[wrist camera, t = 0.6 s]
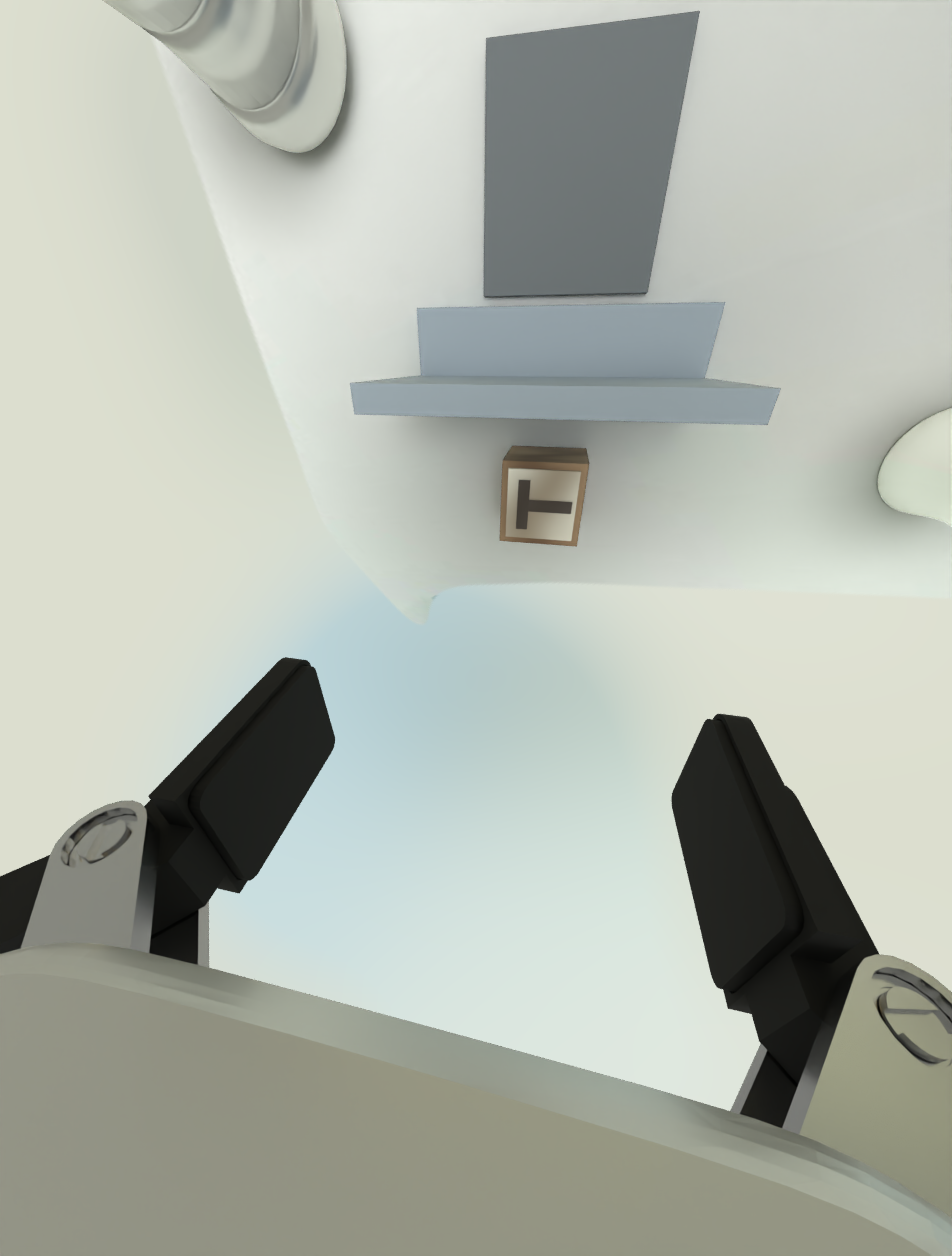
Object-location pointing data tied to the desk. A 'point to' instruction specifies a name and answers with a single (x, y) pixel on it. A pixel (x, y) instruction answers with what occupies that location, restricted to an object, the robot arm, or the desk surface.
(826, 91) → the desk surface
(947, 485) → the beer glass
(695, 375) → the screen
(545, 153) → the mat
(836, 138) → the desk surface
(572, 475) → the letter cube
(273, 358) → the desk surface
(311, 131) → the plastic bottle
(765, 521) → the desk surface
